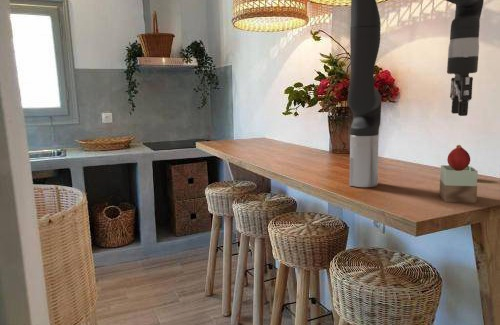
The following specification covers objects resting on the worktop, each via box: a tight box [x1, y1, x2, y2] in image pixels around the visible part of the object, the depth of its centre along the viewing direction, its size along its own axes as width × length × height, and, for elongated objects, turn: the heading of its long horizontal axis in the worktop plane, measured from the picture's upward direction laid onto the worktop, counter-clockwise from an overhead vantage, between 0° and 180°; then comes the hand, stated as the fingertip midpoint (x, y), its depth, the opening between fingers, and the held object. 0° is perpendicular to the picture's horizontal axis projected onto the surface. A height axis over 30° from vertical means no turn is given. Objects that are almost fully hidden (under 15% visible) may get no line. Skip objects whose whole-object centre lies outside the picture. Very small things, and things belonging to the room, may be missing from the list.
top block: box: [439, 164, 479, 187], centre depth 114 cm, size 8×8×4 cm
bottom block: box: [439, 178, 478, 204], centre depth 115 cm, size 8×8×5 cm
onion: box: [446, 144, 471, 171], centre depth 113 cm, size 6×6×8 cm
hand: (459, 114), depth 113 cm, fingers open, 8 cm apart
